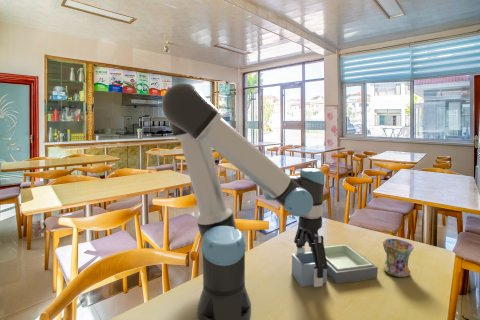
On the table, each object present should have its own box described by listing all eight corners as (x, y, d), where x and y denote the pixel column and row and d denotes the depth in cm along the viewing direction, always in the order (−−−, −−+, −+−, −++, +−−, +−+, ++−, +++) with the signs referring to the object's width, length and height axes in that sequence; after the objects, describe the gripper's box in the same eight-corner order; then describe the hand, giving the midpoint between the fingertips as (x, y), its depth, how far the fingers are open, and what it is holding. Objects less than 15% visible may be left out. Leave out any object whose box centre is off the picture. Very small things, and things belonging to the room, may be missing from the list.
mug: (417, 277, 100) (420, 248, 98) (393, 280, 98) (396, 251, 96) (393, 261, 111) (395, 234, 110) (371, 263, 110) (373, 236, 108)
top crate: (337, 279, 98) (337, 269, 97) (314, 256, 113) (315, 247, 113) (371, 274, 100) (372, 264, 100) (345, 253, 116) (345, 244, 115)
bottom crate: (335, 284, 96) (336, 272, 96) (310, 257, 114) (310, 248, 114) (377, 278, 100) (377, 267, 99) (346, 253, 117) (346, 244, 117)
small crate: (301, 286, 95) (301, 265, 94) (291, 273, 103) (292, 253, 102) (326, 283, 97) (327, 262, 96) (315, 270, 105) (315, 251, 104)
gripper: (341, 228, 85) (338, 294, 88) (304, 203, 109) (303, 256, 112) (317, 230, 84) (315, 298, 87) (286, 204, 108) (285, 258, 111)
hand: (308, 274), depth 100 cm, fingers open, 13 cm apart
